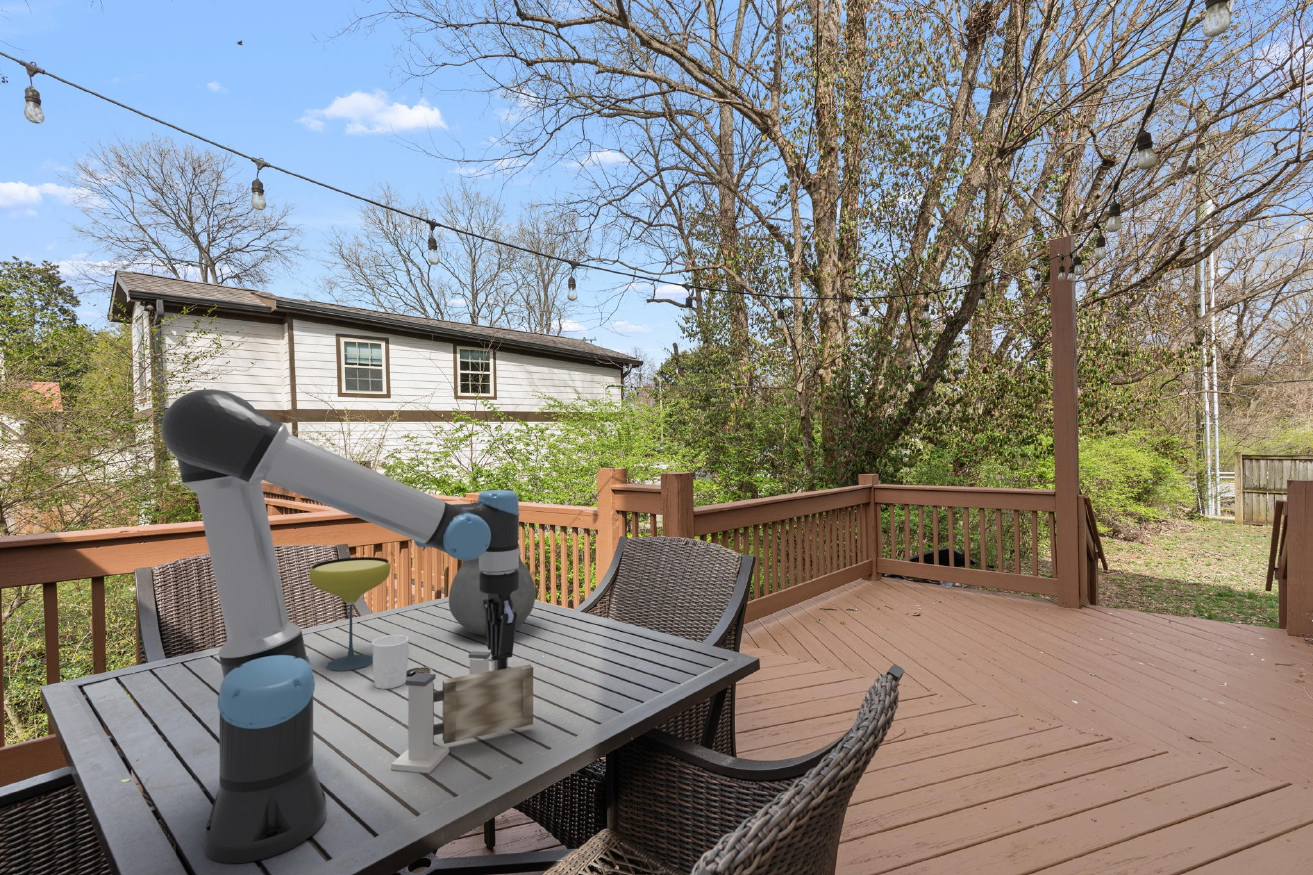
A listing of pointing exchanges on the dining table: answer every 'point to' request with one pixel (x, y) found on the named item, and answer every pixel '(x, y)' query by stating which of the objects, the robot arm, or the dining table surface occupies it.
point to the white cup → (390, 661)
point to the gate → (485, 703)
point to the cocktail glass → (350, 593)
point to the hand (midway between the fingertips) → (500, 689)
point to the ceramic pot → (486, 597)
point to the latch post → (479, 662)
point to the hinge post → (420, 728)
